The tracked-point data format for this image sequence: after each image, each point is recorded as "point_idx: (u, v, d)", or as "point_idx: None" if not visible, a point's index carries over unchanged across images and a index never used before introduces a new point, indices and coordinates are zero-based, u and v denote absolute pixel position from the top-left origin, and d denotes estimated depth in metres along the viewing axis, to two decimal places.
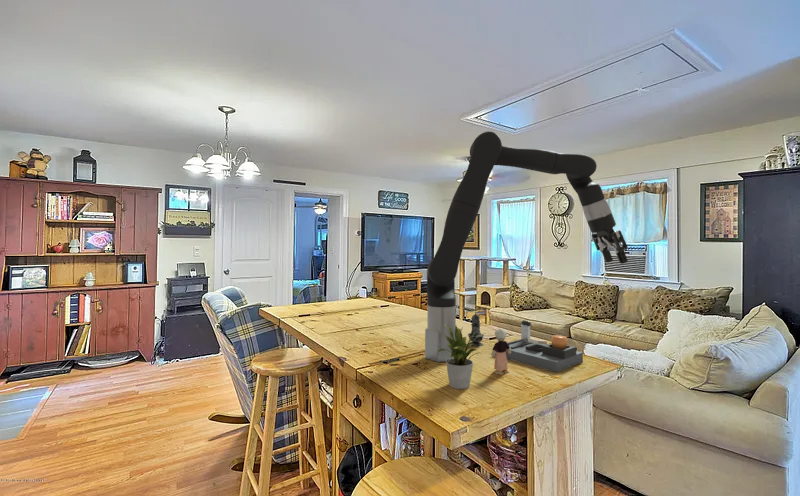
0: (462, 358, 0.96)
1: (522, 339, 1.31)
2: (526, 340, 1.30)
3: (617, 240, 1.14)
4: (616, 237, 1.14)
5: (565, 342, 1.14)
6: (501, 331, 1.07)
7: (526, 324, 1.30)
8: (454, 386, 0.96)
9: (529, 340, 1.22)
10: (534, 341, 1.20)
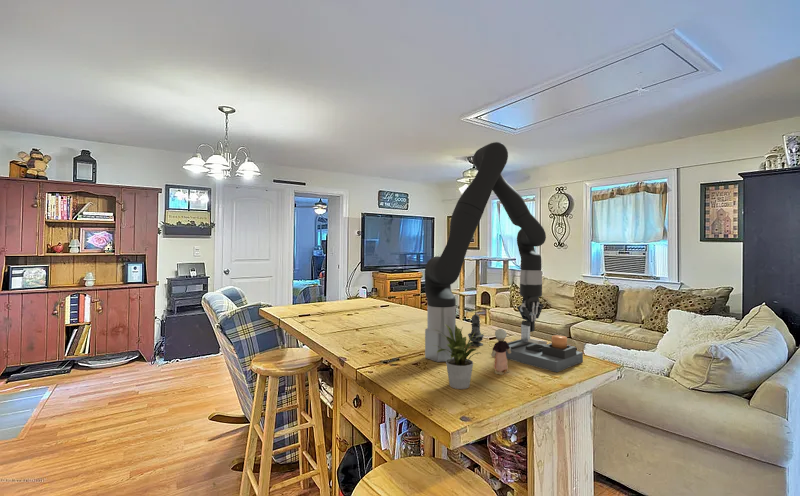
0: (462, 358, 0.96)
1: (522, 339, 1.31)
2: (526, 340, 1.30)
3: (521, 313, 1.31)
4: (520, 311, 1.30)
5: (565, 342, 1.14)
6: (501, 331, 1.07)
7: (526, 324, 1.30)
8: (454, 386, 0.96)
9: (529, 340, 1.22)
10: (534, 341, 1.20)
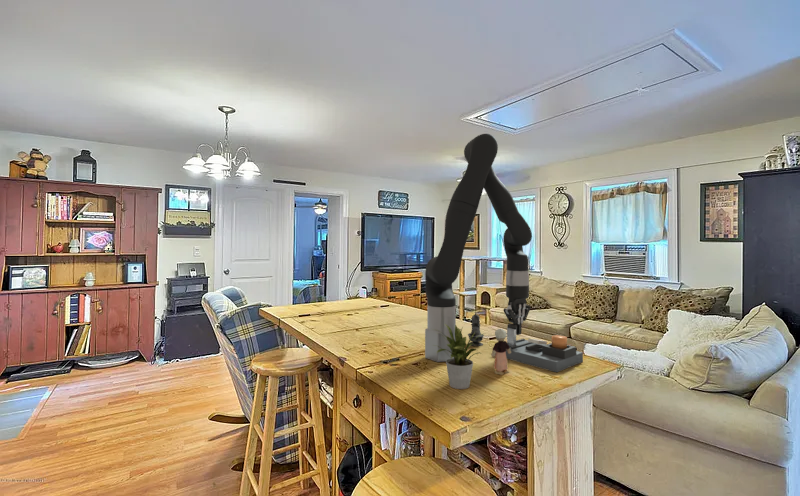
0: (462, 358, 0.96)
1: (508, 343, 1.26)
2: (512, 344, 1.25)
3: (506, 315, 1.26)
4: (506, 313, 1.25)
5: (565, 342, 1.14)
6: (501, 331, 1.07)
7: (512, 327, 1.25)
8: (454, 386, 0.96)
9: (529, 340, 1.22)
10: (534, 341, 1.20)
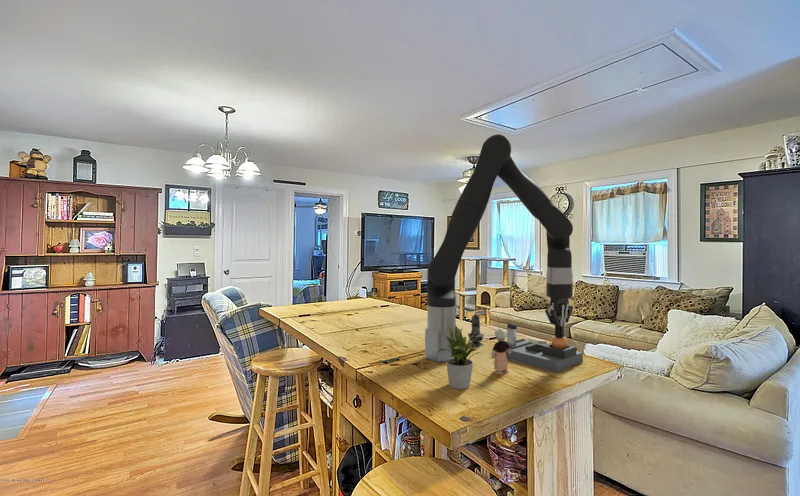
0: (462, 358, 0.96)
1: (508, 343, 1.26)
2: (512, 344, 1.25)
3: (548, 317, 1.14)
4: (548, 315, 1.13)
5: (565, 342, 1.14)
6: (501, 331, 1.07)
7: (512, 327, 1.25)
8: (454, 386, 0.96)
9: (529, 340, 1.22)
10: (534, 341, 1.20)
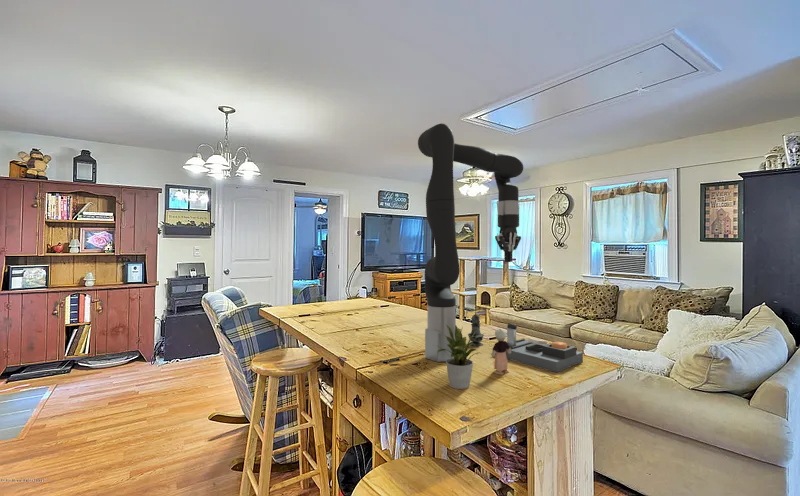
0: (462, 358, 0.96)
1: (508, 343, 1.26)
2: (512, 344, 1.25)
3: (498, 243, 1.33)
4: (497, 241, 1.33)
5: None
6: (501, 331, 1.07)
7: (512, 327, 1.25)
8: (454, 386, 0.96)
9: (529, 340, 1.22)
10: (534, 341, 1.20)
